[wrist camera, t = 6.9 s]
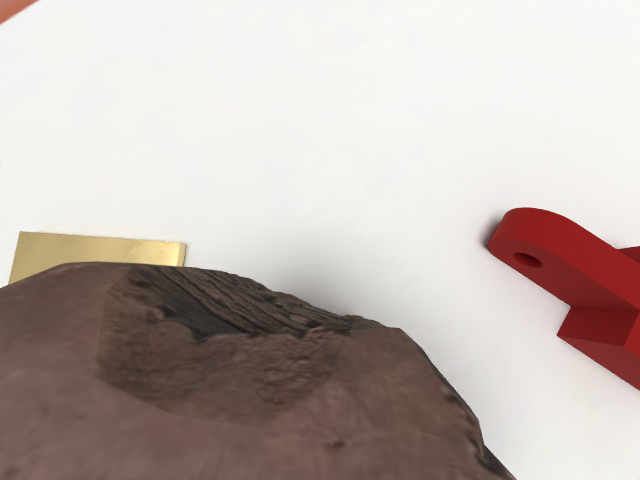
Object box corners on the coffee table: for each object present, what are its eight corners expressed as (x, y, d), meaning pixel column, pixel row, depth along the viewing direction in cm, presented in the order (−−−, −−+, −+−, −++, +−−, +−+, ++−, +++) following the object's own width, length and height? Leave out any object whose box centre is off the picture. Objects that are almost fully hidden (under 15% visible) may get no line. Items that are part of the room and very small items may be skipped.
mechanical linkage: (690, 313, 24) (793, 318, 19) (652, 400, 23) (751, 430, 18) (504, 192, 24) (556, 167, 19) (458, 271, 23) (500, 265, 18)
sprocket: (225, 730, 18) (214, 790, 16) (-183, 727, 17) (-253, 789, 15) (269, 251, 22) (265, 247, 20) (-54, 228, 22) (-94, 221, 19)
